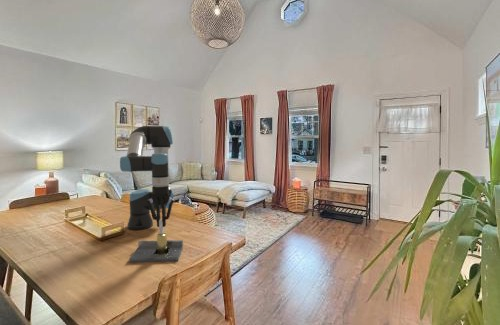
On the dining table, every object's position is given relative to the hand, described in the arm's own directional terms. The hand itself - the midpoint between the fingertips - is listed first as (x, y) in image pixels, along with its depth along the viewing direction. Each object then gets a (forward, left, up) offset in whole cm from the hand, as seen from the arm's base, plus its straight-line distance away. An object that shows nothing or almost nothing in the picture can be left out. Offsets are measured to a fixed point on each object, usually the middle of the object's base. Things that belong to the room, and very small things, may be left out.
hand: (161, 233), depth 125 cm
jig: (-2, -1, -11) cm, 11 cm away
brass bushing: (0, 0, -11) cm, 11 cm away
